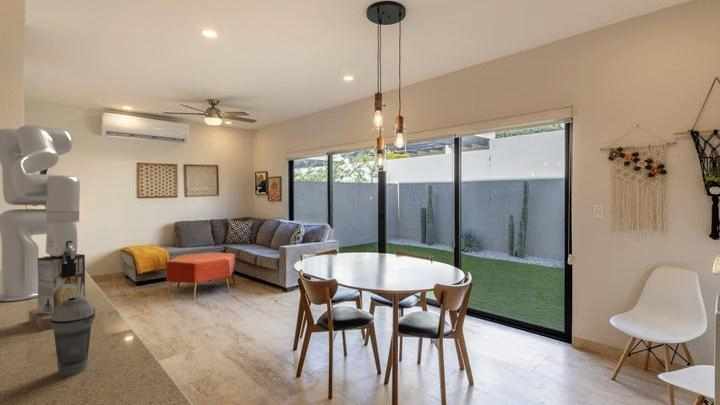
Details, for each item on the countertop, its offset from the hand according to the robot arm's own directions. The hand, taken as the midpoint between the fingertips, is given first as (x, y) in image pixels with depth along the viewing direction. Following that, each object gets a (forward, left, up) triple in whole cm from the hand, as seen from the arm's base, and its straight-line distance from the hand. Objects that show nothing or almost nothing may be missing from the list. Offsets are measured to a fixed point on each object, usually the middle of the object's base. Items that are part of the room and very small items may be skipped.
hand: (62, 274), depth 104 cm
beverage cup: (+39, -10, -14) cm, 43 cm away
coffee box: (0, 0, -11) cm, 11 cm away
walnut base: (0, 0, -14) cm, 14 cm away
